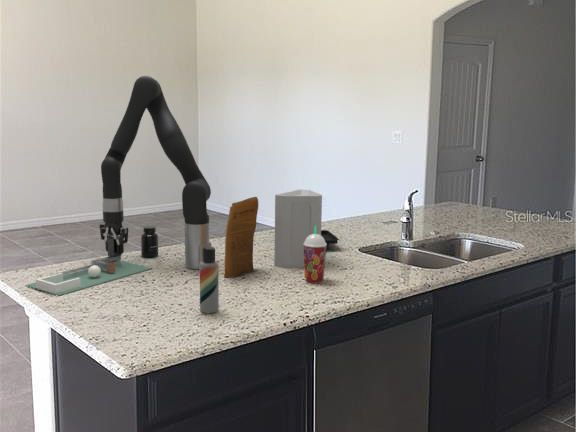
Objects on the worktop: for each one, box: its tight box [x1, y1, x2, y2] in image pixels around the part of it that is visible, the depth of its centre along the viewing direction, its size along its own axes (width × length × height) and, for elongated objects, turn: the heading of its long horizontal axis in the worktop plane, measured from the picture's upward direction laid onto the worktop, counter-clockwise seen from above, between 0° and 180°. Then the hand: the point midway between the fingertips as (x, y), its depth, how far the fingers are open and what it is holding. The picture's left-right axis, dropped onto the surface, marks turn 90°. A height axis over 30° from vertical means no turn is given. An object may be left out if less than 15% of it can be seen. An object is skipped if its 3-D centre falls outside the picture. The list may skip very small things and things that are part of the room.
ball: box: [88, 265, 101, 278], centre depth 221 cm, size 4×4×4 cm
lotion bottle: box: [199, 246, 220, 314], centre depth 189 cm, size 6×6×20 cm
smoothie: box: [303, 226, 327, 284], centre depth 221 cm, size 8×8×20 cm
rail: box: [49, 260, 122, 280], centre depth 228 cm, size 4×28×2 cm, turn 146°
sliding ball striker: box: [91, 236, 123, 273], centre depth 233 cm, size 12×12×10 cm
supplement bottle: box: [140, 225, 159, 259], centre depth 253 cm, size 7×7×12 cm
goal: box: [35, 272, 81, 294], centre depth 209 cm, size 10×10×3 cm
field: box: [25, 260, 153, 297], centre depth 223 cm, size 18×41×1 cm, turn 146°
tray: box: [321, 229, 340, 247], centre depth 276 cm, size 30×23×5 cm
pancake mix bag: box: [223, 196, 259, 278], centre depth 229 cm, size 7×19×28 cm, turn 144°
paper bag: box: [273, 189, 323, 269], centre depth 243 cm, size 19×15×28 cm
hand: (114, 252), depth 238 cm, fingers open, 6 cm apart
